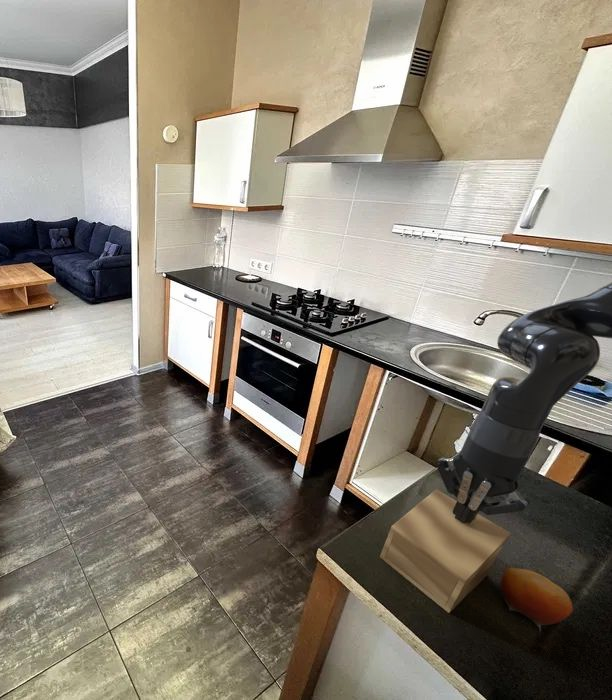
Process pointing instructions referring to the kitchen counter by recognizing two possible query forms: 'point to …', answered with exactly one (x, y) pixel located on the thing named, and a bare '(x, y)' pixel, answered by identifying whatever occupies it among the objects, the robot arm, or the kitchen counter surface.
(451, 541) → the lid
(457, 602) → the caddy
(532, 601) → the fruit
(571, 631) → the kitchen counter surface
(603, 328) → the robot arm
